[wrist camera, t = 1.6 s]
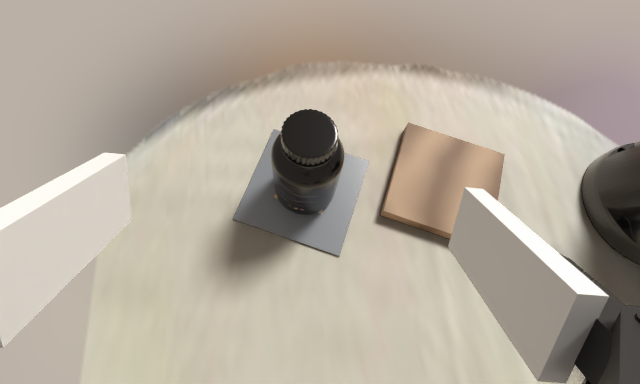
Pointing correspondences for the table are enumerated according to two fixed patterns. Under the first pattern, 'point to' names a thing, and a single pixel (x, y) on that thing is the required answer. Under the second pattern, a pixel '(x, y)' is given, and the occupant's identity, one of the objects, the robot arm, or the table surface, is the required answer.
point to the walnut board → (437, 178)
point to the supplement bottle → (307, 162)
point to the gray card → (307, 229)
